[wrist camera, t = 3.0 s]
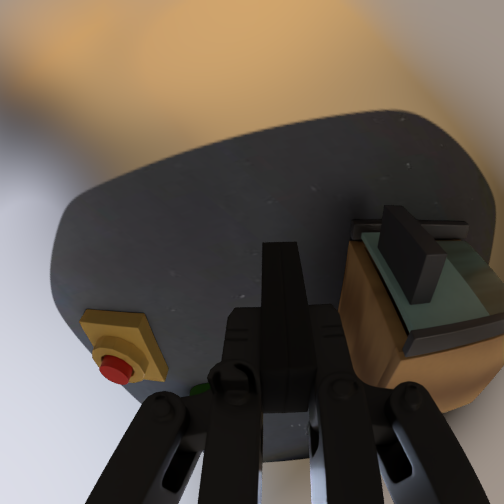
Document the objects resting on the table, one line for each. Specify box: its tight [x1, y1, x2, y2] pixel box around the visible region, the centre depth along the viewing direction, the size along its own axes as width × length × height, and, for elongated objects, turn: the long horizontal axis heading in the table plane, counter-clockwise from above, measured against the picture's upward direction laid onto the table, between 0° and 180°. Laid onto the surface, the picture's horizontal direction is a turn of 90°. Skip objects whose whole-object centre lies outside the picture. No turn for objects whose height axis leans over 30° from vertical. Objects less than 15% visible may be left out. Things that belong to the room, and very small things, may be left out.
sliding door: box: [361, 205, 490, 333], centre depth 15 cm, size 4×6×10 cm, turn 93°
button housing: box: [79, 309, 169, 383], centre depth 28 cm, size 10×8×4 cm
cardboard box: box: [338, 220, 504, 413], centre depth 18 cm, size 12×12×12 cm
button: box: [99, 355, 133, 385], centre depth 26 cm, size 4×4×2 cm
